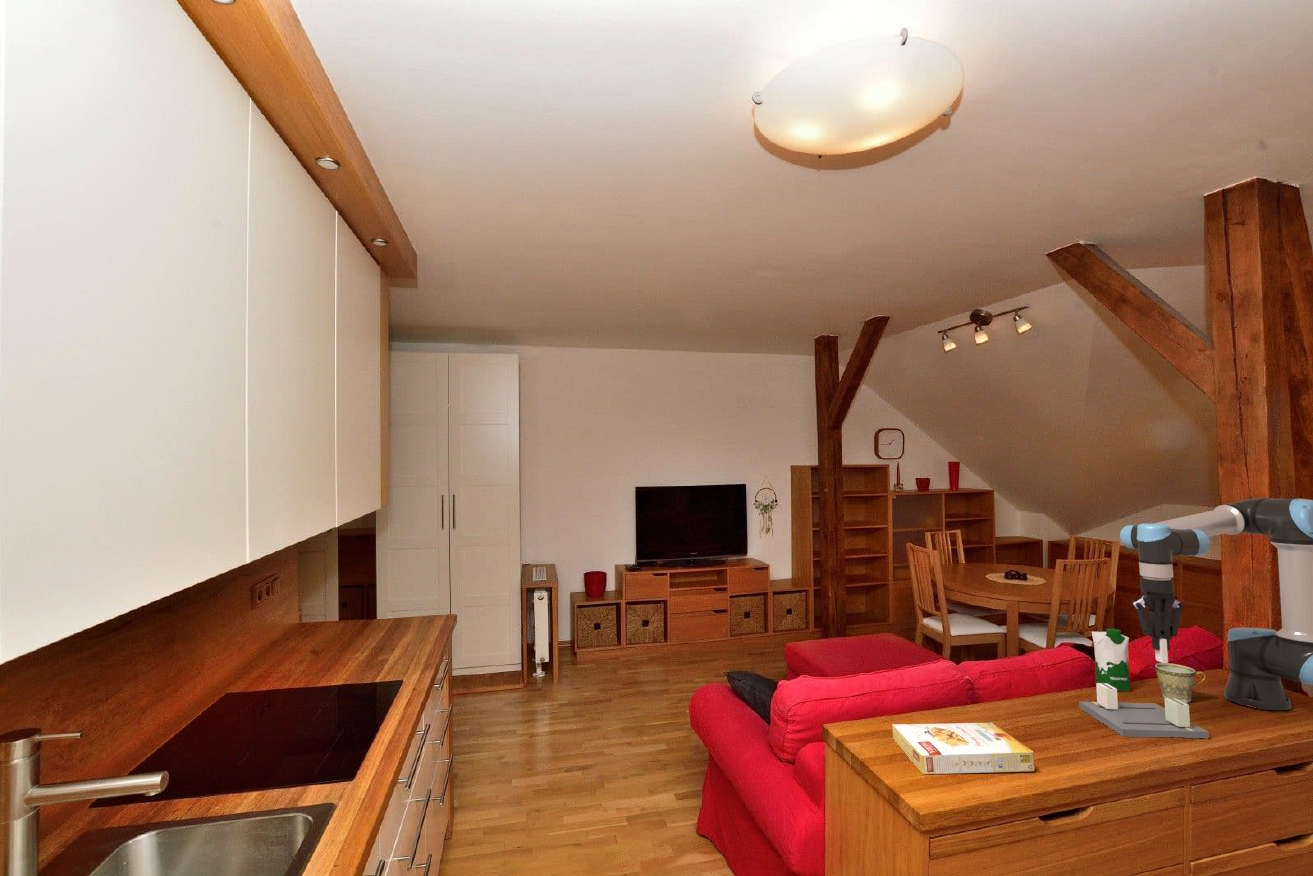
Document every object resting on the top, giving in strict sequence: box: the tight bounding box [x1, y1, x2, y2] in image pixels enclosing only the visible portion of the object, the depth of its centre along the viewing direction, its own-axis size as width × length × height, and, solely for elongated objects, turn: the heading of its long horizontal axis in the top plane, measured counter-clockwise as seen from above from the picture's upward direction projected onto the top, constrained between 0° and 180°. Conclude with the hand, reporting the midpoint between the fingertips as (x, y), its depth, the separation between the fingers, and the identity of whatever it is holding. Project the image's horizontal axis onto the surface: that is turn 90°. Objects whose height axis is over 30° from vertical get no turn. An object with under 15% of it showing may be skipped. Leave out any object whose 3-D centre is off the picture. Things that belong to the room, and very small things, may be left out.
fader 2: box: [1163, 697, 1191, 727], centre depth 174 cm, size 3×5×6 cm, turn 174°
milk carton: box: [1091, 628, 1131, 691], centre depth 210 cm, size 9×9×20 cm
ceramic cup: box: [1154, 662, 1206, 704], centre depth 198 cm, size 13×10×10 cm
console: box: [1078, 700, 1210, 739], centre depth 180 cm, size 22×21×2 cm
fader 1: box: [1095, 682, 1119, 709], centre depth 187 cm, size 3×5×6 cm, turn 174°
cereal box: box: [892, 722, 1036, 775], centre depth 161 cm, size 20×6×28 cm
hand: (1161, 661), depth 175 cm, fingers closed
